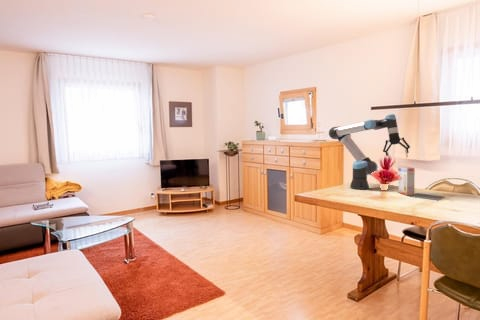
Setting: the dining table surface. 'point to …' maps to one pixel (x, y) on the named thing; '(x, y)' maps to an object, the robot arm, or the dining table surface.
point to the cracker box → (406, 180)
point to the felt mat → (427, 196)
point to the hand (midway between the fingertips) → (398, 158)
